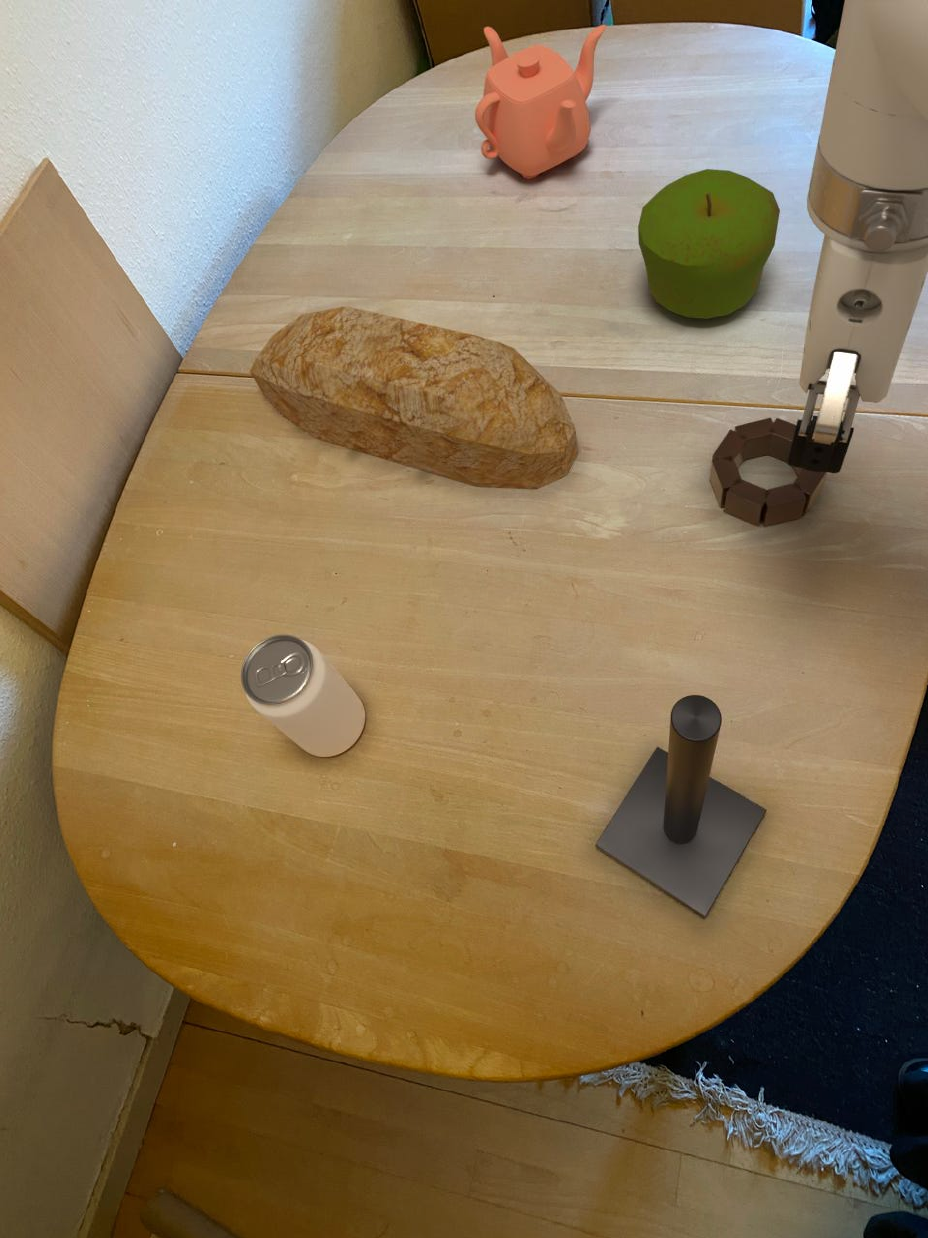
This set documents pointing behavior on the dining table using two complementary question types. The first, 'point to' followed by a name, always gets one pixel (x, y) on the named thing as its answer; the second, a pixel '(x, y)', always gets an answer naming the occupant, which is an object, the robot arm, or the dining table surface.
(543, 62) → the teapot
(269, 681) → the can
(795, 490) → the ring
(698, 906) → the dark grey peg stand
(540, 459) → the bread
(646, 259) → the apple
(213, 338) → the dining table surface
